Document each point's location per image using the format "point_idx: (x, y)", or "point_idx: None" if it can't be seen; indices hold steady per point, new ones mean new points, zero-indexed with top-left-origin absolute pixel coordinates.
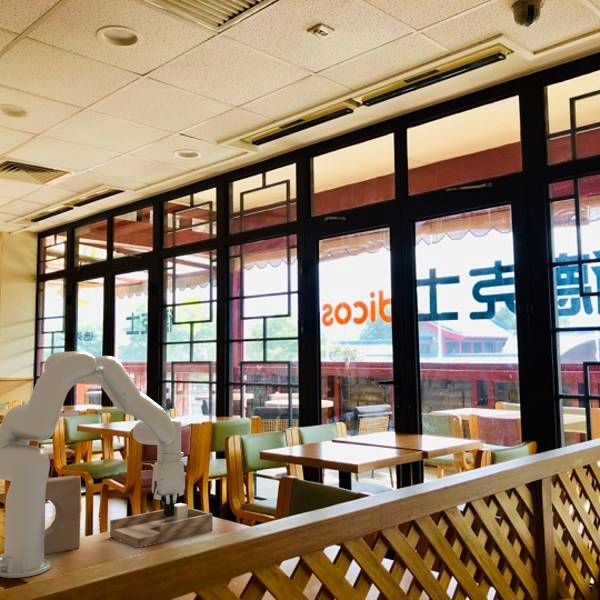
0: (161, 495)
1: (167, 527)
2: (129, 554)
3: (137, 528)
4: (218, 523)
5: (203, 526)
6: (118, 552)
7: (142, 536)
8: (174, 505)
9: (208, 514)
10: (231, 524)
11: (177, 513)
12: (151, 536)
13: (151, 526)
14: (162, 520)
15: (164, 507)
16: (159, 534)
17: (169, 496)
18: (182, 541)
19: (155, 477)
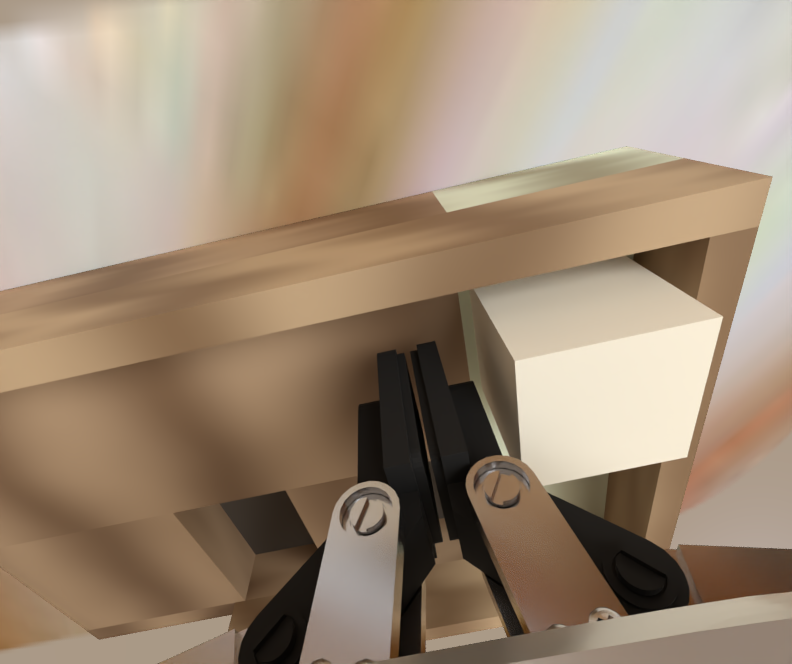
0: (304, 662)
1: None
2: (74, 629)
3: (72, 477)
4: (747, 390)
5: None
6: (10, 600)
7: (117, 616)
8: (539, 418)
9: None
10: (767, 446)
11: (499, 427)
12: (175, 622)
13: (201, 473)
14: (346, 348)
15: (363, 467)
16: (227, 613)
17: (500, 578)
18: None
19: None
